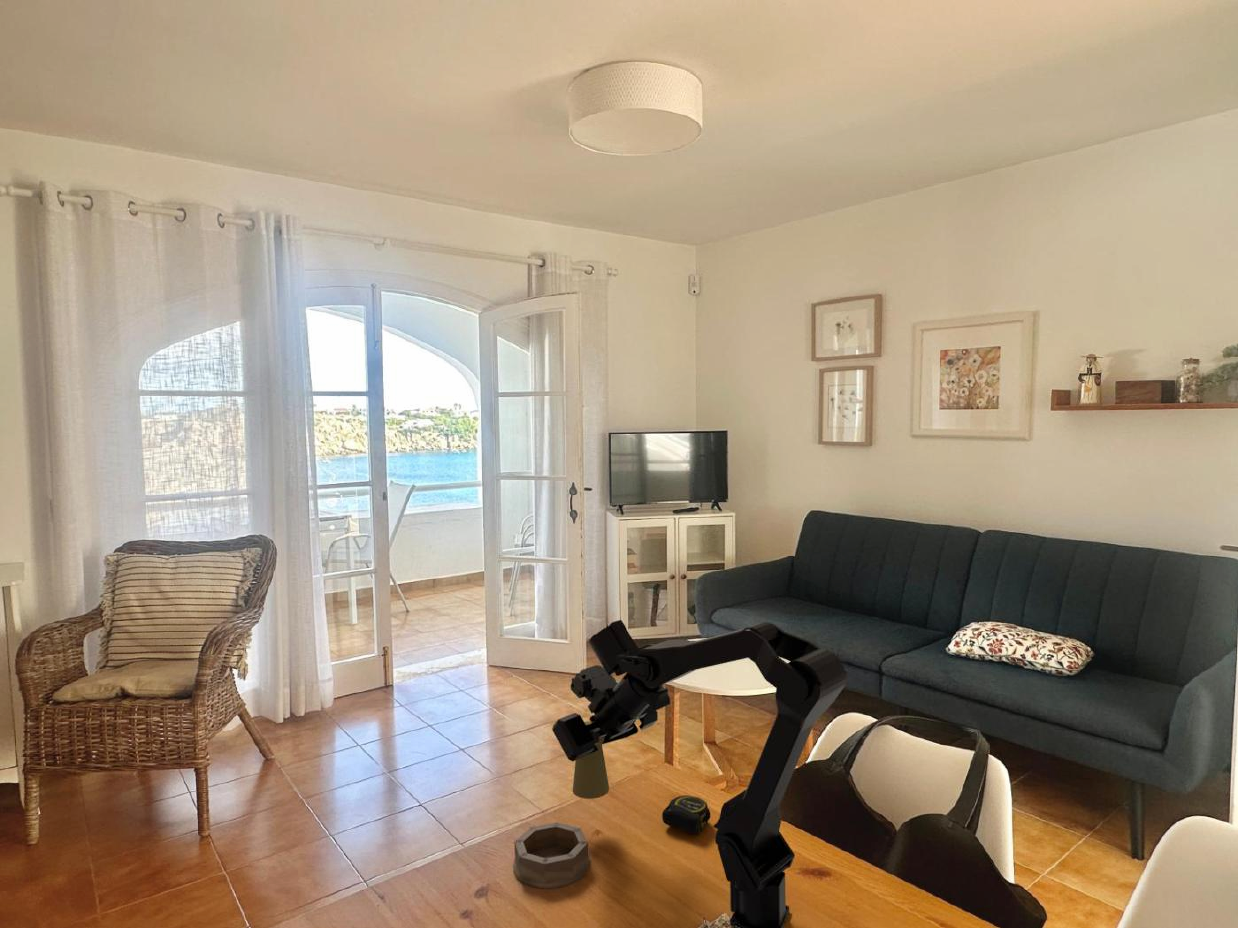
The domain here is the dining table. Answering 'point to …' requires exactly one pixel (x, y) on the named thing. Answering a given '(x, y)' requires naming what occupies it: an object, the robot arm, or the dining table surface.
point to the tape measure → (687, 814)
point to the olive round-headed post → (591, 774)
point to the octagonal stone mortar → (551, 856)
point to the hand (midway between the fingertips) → (583, 747)
